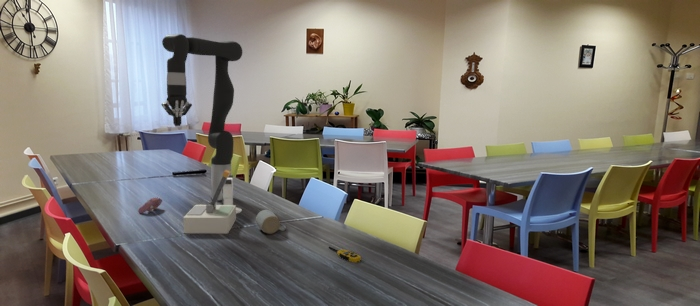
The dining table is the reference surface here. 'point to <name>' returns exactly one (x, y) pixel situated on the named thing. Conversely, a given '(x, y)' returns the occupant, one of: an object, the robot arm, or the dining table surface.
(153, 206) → the video game controller
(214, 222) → the switch box
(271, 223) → the ceramic mug
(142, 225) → the dining table surface
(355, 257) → the yellow walkie-talkie
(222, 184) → the lever
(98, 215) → the dining table surface
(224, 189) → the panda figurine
